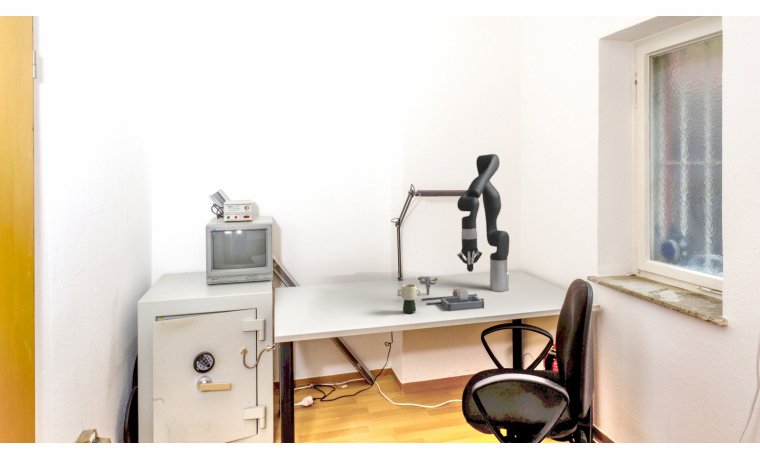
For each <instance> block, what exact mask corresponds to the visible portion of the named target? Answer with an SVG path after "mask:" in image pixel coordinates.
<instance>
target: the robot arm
mask: <svg viewBox="0 0 760 460" xmlns="http://www.w3.org/2000/svg"><path fill="white" fill-rule="evenodd" d="M475 163H476V170H477V176H476V177H475V178H474V179H473V180H472V181H471V183H470V185H469V186H468V189H467V190H466V191H464V193H462V194H461V196H460V197H459V198H458V200H457V203H456V204H457V209H458V210H459V211H460V212H469V215H465V216H463V217H461V251H460V252H459V253H457V255H456V256H458V259H460V261H462V263H463V264H466V270H467V271H468V272H469V273H472V272H473V271H474V264H476V263H478V261H479V259H480V258H481V256H482V255H483V252H481V251H479V249H478V231H477V217H478V212H479V209H480V200H479V198H481V195H482V203H483V204H482V205H483V209H484V216H485V217H484V218H485V225H486V228H485V229H486V230H485V231H486V240H487V244H488V245H489V246H491V247H495V248H496V251H495V252H492V253H490V256H489V290H490V291H493V292H506V291H510V290H509V288H510V287H509V284H510V283H509V280H510V276H509V275H510V274H509V272H508V256H509V251H510V235H509V233H508V232H507V231H505V230H498V227H497V225H498V224H497V223H498V222H497V220H498V218H499V215H500V213H501V209H502V200H501V196H500V192H499V191H498V190H497V188H496V187H495V186H494V185H493V183H492V182H491V181H490V180H491V179H492V178H493V176H494V175H495V174H496V172H497V171H498V169H499V167H500V163H501V162H500V158H499V156H498V155H497V154H496V153H490V154H489V153H488V154H483V155H478V156H477V158H476V162H475ZM464 257H465V258H464Z"/></svg>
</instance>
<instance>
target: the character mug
mask: <svg viewBox="0 0 760 460" xmlns="http://www.w3.org/2000/svg"><path fill="white" fill-rule="evenodd" d="M421 292H422V290H421V289H420V288H417V285H416V284H415V283H414V284H413V283H405V284H401V288H400V289H397V296H398V297H401V298H402V299H403V306H402V311H403V312H404V313H407V314H413V313H416V312H417V307H416V302H415V300H416V299H417V297H419V296H421V294H422V293H421ZM400 293H401V294H400Z"/></svg>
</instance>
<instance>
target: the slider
mask: <svg viewBox="0 0 760 460" xmlns="http://www.w3.org/2000/svg"><path fill="white" fill-rule="evenodd" d="M464 289H465V288H464ZM464 289H463V288H456V289H453V291H452V296H453V297H457V290H464Z"/></svg>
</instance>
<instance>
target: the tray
mask: <svg viewBox="0 0 760 460" xmlns="http://www.w3.org/2000/svg"><path fill="white" fill-rule="evenodd" d="M481 299H482V298H480V297H478V295H477V296H475V295H474V296H468V302H462V303H457V297H449V298H441V299H440V302H441V304H440V305H441V306H442V307H443V308H444V309H445V310H446V311H447V312H455V311H468V310H479V309H485V301H483V300H481Z"/></svg>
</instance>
